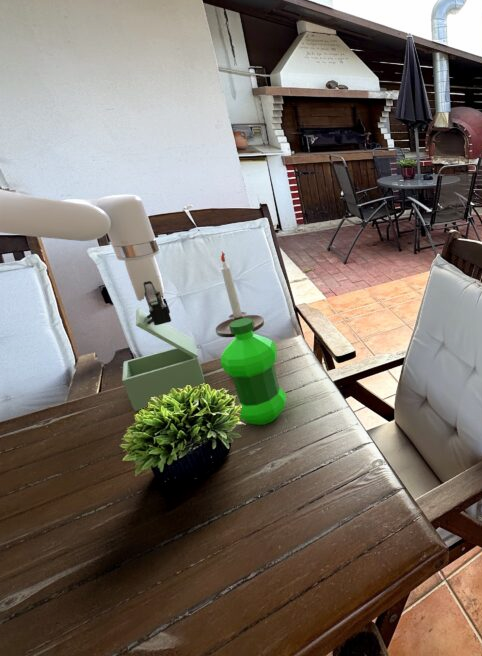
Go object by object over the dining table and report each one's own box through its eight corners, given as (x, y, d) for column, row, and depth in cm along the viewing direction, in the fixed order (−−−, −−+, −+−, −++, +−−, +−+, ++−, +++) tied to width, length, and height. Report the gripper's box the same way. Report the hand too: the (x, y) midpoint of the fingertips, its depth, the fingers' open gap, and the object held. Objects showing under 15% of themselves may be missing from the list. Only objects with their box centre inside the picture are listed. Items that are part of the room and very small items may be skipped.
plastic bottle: (228, 428, 90) (198, 331, 81) (265, 399, 100) (242, 309, 91) (265, 436, 88) (239, 337, 79) (300, 406, 98) (279, 314, 89)
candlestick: (280, 367, 113) (253, 249, 101) (237, 386, 105) (202, 260, 93) (264, 355, 119) (237, 242, 107) (222, 371, 111) (187, 251, 99)
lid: (135, 325, 91) (157, 308, 93) (136, 310, 99) (155, 294, 101) (195, 358, 101) (213, 342, 103) (191, 342, 108) (208, 327, 110)
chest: (134, 411, 95) (122, 380, 92) (134, 390, 103) (123, 361, 100) (206, 387, 104) (197, 358, 101) (202, 370, 112) (193, 342, 109)
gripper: (116, 244, 96) (142, 311, 102) (113, 262, 84) (143, 337, 90) (157, 238, 100) (179, 303, 107) (159, 254, 88) (184, 326, 95)
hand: (162, 318), depth 99 cm, fingers closed on lid, 5 cm apart
